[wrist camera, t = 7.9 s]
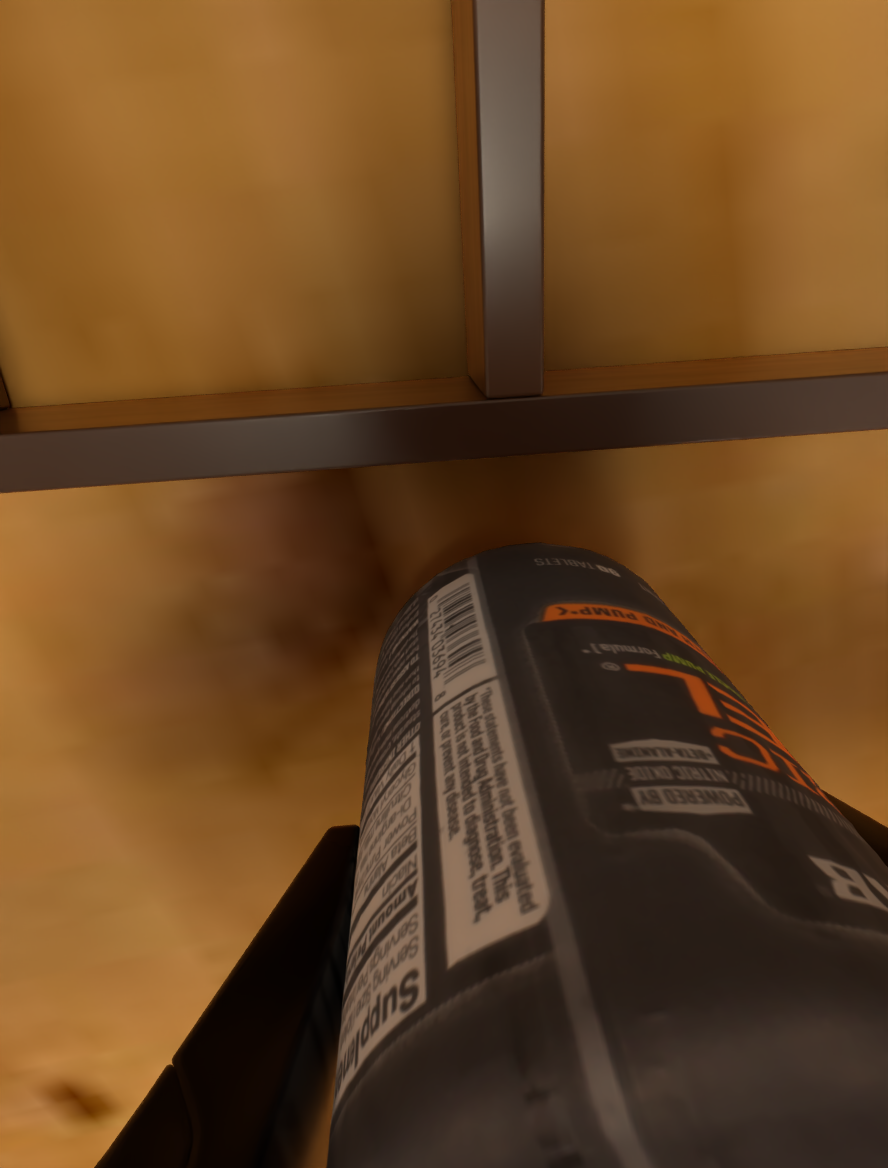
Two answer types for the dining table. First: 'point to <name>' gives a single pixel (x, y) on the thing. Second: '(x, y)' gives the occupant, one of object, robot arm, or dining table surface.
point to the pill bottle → (597, 899)
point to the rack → (494, 347)
